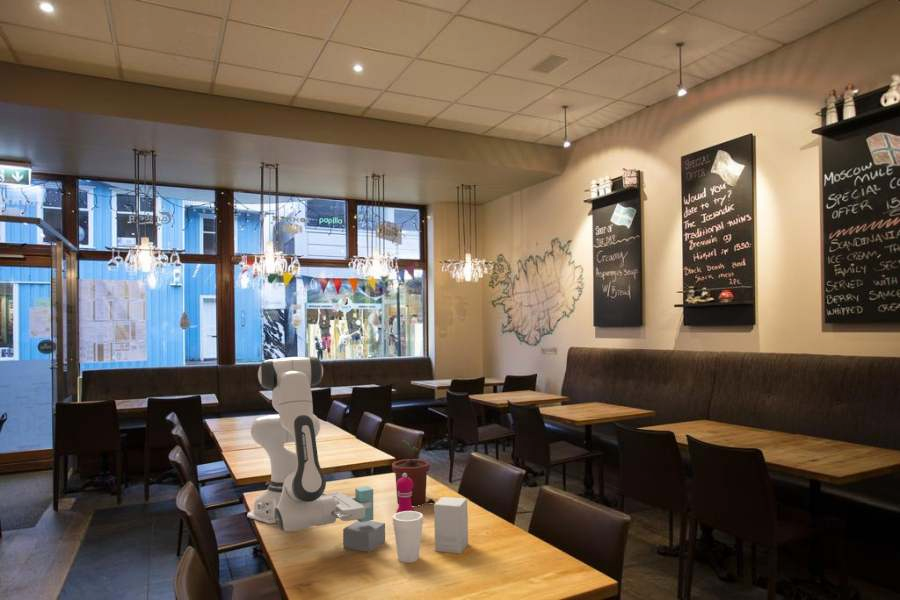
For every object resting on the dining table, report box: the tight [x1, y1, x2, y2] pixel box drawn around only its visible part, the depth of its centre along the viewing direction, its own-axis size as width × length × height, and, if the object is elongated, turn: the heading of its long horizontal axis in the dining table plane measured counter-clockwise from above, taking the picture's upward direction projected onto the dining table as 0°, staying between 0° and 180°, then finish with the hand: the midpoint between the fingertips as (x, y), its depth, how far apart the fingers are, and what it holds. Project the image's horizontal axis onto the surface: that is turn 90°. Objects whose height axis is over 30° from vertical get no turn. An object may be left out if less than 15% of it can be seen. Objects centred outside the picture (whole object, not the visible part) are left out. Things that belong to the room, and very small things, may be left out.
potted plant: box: [391, 440, 436, 507], centre depth 234 cm, size 18×22×25 cm
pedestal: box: [342, 520, 386, 553], centre depth 187 cm, size 10×10×6 cm
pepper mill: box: [395, 473, 415, 514], centre depth 200 cm, size 7×7×20 cm
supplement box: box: [433, 496, 469, 554], centre depth 183 cm, size 9×9×15 cm
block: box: [354, 485, 374, 522], centre depth 187 cm, size 4×4×10 cm
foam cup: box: [392, 510, 424, 563], centre depth 175 cm, size 10×9×13 cm
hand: (366, 501), depth 188 cm, fingers closed on block, 4 cm apart
